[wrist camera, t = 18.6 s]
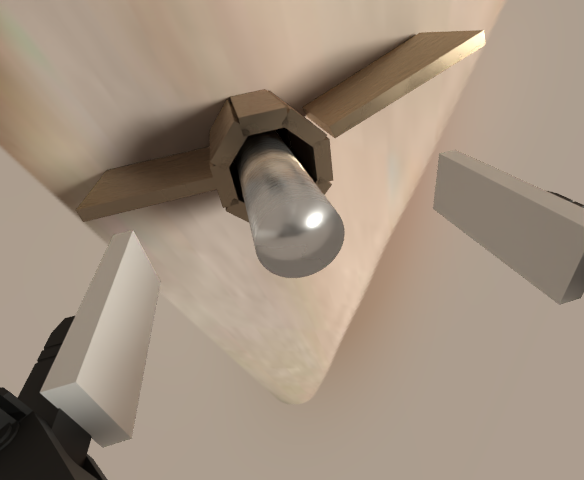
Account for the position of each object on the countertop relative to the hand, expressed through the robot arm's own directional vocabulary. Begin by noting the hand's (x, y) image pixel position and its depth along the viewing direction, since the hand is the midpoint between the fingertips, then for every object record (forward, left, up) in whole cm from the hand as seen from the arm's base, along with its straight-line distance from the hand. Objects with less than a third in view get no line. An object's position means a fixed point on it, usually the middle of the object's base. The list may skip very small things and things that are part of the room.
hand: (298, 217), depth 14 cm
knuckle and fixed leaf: (0, -4, -14) cm, 14 cm away
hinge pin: (0, 0, -14) cm, 14 cm away
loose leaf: (-3, +9, -13) cm, 16 cm away
